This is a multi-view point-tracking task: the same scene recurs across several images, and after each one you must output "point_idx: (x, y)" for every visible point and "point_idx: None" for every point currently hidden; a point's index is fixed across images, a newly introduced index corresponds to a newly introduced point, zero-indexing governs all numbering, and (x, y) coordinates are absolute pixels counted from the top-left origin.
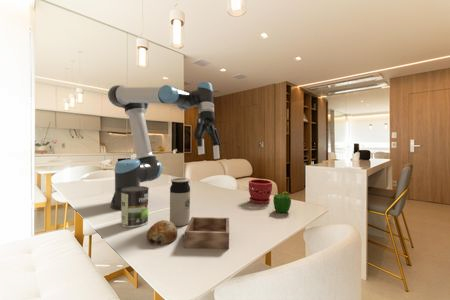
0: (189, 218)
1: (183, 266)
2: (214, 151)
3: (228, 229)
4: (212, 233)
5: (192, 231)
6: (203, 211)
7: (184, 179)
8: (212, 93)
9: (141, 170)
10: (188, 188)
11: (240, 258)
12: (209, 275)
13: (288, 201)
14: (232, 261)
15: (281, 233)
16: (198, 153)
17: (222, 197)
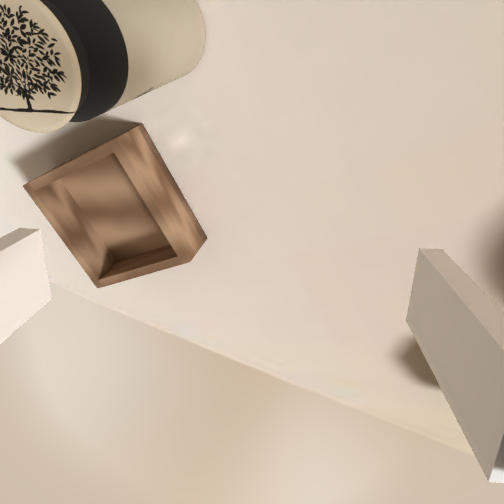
0: (177, 78)
1: (11, 206)
2: (456, 321)
3: (113, 282)
4: (72, 251)
5: (40, 203)
6: (370, 38)
7: (33, 96)
8: None
9: None
10: (74, 121)
11: (104, 292)
12: None
13: None
14: (86, 282)
15: (270, 361)
16: (12, 236)
17: None
